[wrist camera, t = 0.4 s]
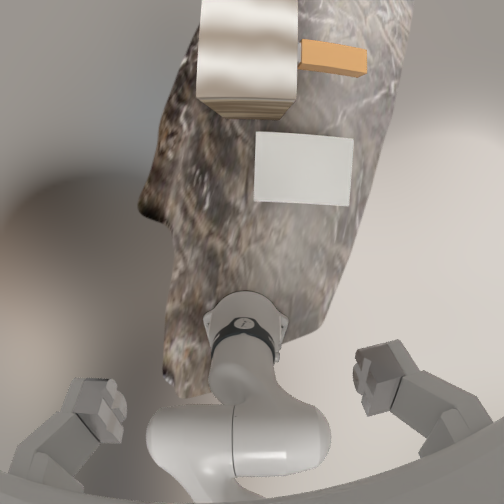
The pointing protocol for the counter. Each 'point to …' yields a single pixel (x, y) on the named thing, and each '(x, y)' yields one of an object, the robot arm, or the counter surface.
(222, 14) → the socket tower
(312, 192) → the pedestal
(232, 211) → the counter surface
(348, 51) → the plug
